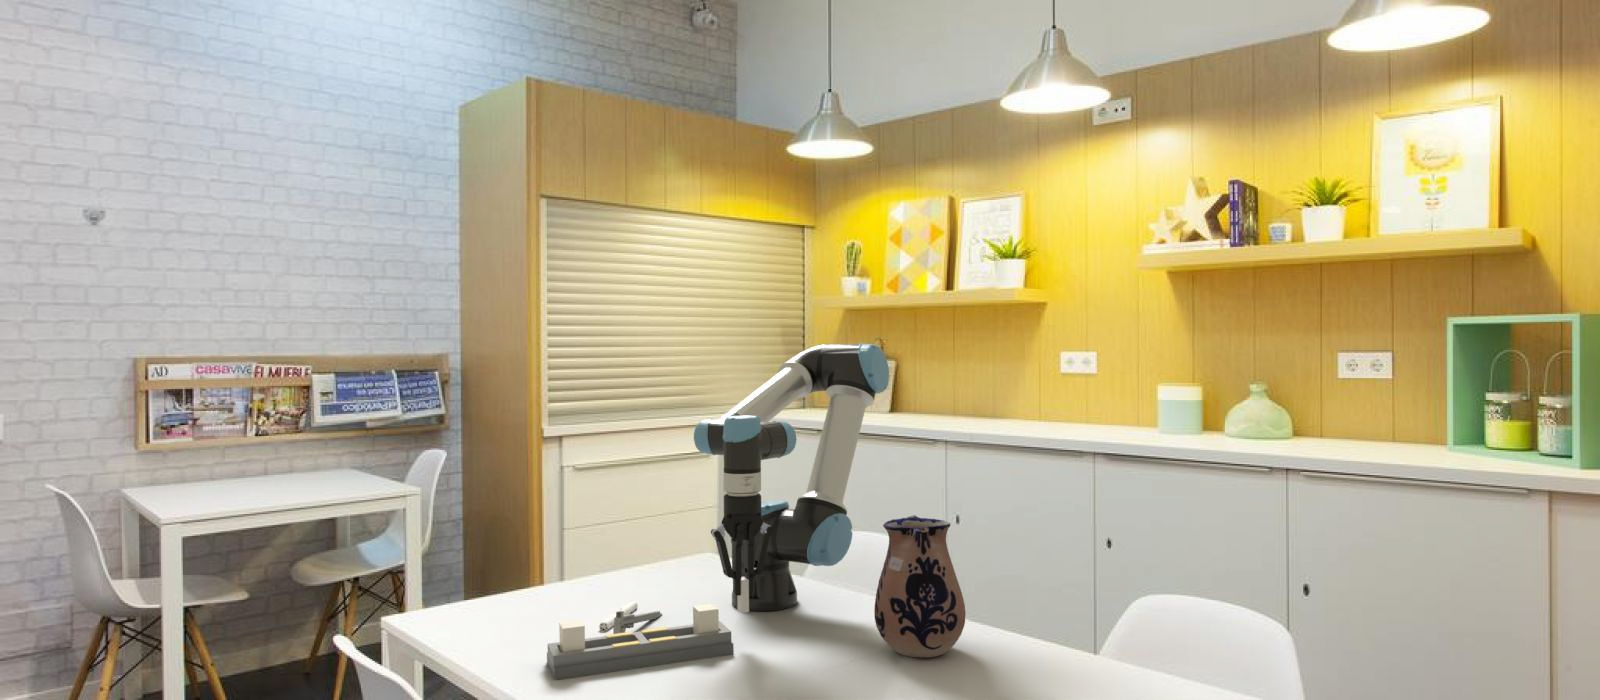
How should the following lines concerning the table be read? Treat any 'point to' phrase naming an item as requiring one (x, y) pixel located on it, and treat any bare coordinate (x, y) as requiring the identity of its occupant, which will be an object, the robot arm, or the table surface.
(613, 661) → the switch board
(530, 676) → the table surface
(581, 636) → the tab
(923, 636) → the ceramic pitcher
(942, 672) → the table surface
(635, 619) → the caliper
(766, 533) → the robot arm
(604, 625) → the marker
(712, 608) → the tab
